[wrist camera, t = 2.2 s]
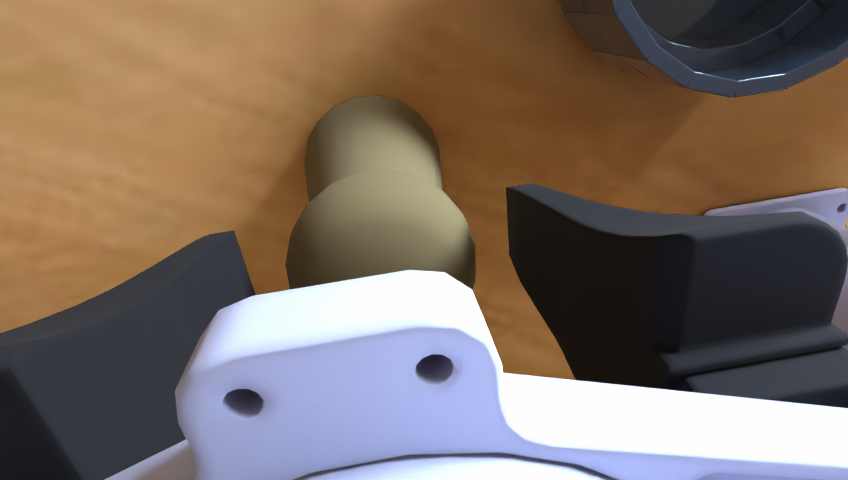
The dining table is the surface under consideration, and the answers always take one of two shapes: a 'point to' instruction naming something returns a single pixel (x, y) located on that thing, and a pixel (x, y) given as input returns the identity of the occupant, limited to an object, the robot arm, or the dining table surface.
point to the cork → (376, 200)
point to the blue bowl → (716, 40)
